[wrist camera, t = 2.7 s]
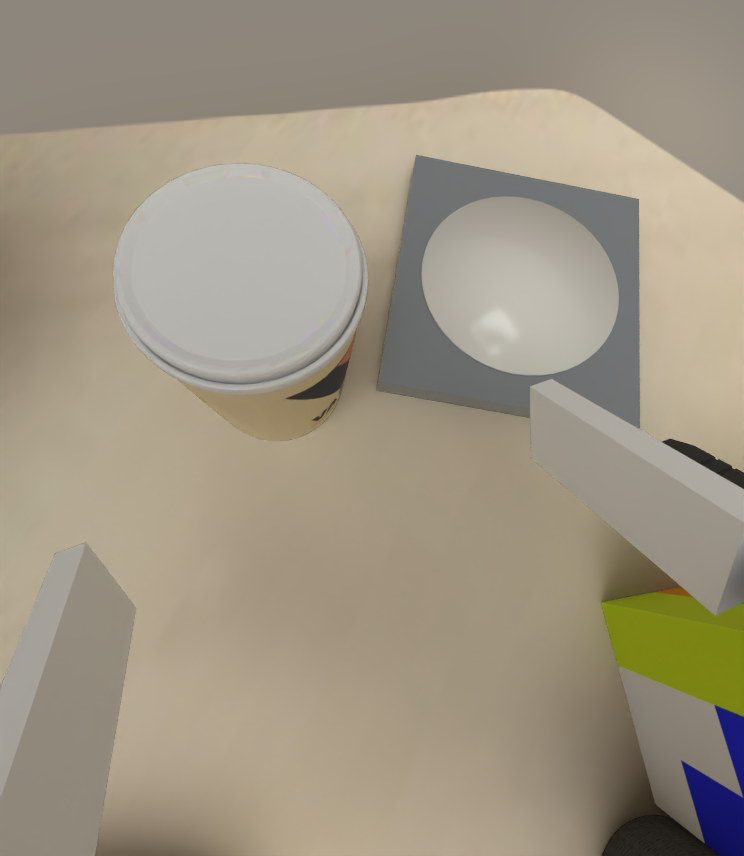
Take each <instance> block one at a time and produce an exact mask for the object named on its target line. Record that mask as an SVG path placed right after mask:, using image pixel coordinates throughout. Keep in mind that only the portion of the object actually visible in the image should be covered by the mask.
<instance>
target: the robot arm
mask: <svg viewBox="0 0 744 856" xmlns="http://www.w3.org/2000/svg"><path fill="white" fill-rule="evenodd" d="M530 435H531V458H532V459H533V460H534V461H535V462H536V463H537V464H539V465H540V466H541V467H542V468H543V469H544V470H546V471H547V472H548V473H549V474H550V475H551V476H553V477H554V478H555V479H556V480H557V481H558V482H560V483H561V484H562V485H563V486H564V487H565V488H567V489H568V490H569V491H570V492H571V493H572V494H574V495H575V496H576V497H577V498H578V499H579V500H581V501H582V502H583V503H584V504H585V505H586V506H588V507H589V508H590V509H591V510H592V511H593V512H595V513H596V514H597V515H598V516H599V517H600V518H602V519H603V520H604V521H605V522H606V523H607V524H609V525H610V526H611V527H612V528H613V529H615V530H616V531H617V532H618V533H619V534H620V535H622V536H623V537H624V538H625V539H626V540H627V541H629V542H630V543H631V544H632V545H633V546H634V547H636V548H637V549H638V550H639V551H640V552H641V553H643V554H644V555H645V556H646V557H647V558H648V559H650V560H651V561H652V562H653V563H654V564H655V565H657V566H658V567H659V568H660V569H661V570H662V571H664V572H665V573H666V574H667V575H668V576H669V577H671V578H672V579H673V580H674V581H675V582H676V583H678V584H679V585H680V586H681V587H682V588H683V589H685V590H686V591H687V592H688V593H689V594H690V595H692V596H693V597H694V598H695V599H696V600H697V601H699V602H700V603H701V604H702V605H703V606H705V607H706V608H707V609H708V610H709V611H710V612H712V613H713V614H714V615H715V616H716V615H718V614H720V613H722V612H724V611H726V610H728V609H730V608H732V607H734V606H736V605H738V604H740V603H743V602H744V473H743V472H742V471H740V470H738V469H733V468H732V466H731V465H729V464H727V463H725V462H723V461H721V460H716V459H715V457H714V456H712V455H710V454H708V453H707V452H705V451H703V450H701V449H699V448H697V447H696V446H693V445H690V444H686V443H683V442H679V441H676V440H673V439H668V440H665V441H663V442H661V441H659V440H657V439H655V438H654V437H652V436H650V435H648V434H647V433H645V432H643V431H641V430H640V429H638V428H636V427H635V426H633V425H631V424H629V423H628V422H626V421H624V420H622V419H621V418H619V417H617V416H615V415H614V414H612V413H610V412H608V411H607V410H605V409H603V408H601V407H600V406H598V405H596V404H594V403H593V402H591V401H589V400H588V399H586V398H584V397H582V396H581V395H579V394H577V393H575V392H574V391H572V390H570V389H568V388H567V387H565V386H563V385H561V384H560V383H558V382H556V381H554V380H553V379H550V380H547V381H544V382H541V383H538V384H536V385H533V386H530ZM135 613H136V607H135V606H134V605H133V603H132V602H131V601H130V599H129V598H128V597H127V595H126V594H125V593H124V591H123V590H122V589H121V587H120V586H119V585H118V583H117V582H116V581H115V580H114V578H113V577H112V576H111V574H110V573H109V572H108V570H107V569H106V568H105V566H104V565H103V564H102V562H101V561H100V560H99V558H98V557H97V556H96V554H95V553H94V552H93V551H92V549H91V548H90V547H89V545H88V544H87V543H83V544H80V545H77V546H74V547H71V548H69V549H66V550H63V551H60V552H57V553H55V555H54V557H53V560H52V562H51V565H50V567H49V570H48V572H47V575H46V577H45V580H44V582H43V584H42V587H41V589H40V592H39V594H38V597H37V599H36V602H35V604H34V606H33V609H32V611H31V614H30V616H29V619H28V621H27V624H26V626H25V629H24V631H23V633H22V636H21V638H20V641H19V643H18V646H17V648H16V651H15V653H14V655H13V658H12V660H11V663H10V665H9V668H8V670H7V673H6V675H5V677H4V680H3V682H2V685H1V687H0V856H95V853H96V847H97V841H98V835H99V829H100V823H101V817H102V811H103V805H104V799H105V793H106V787H107V781H108V775H109V769H110V763H111V757H112V751H113V745H114V739H115V733H116V727H117V721H118V715H119V709H120V703H121V697H122V691H123V685H124V679H125V673H126V667H127V661H128V655H129V649H130V643H131V637H132V631H133V625H134V619H135Z"/></svg>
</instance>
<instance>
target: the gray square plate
mask: <svg viewBox="0 0 744 856" xmlns="http://www.w3.org/2000/svg"><path fill="white" fill-rule="evenodd" d="M550 379H553V380H554V381H556V382H558V383H560V384H561V385H563V386H565V387H567V388H568V389H570V390H572V391H574V392H575V393H577V394H579V395H581V396H582V397H584V398H586V399H588V400H589V401H591V402H593V403H594V404H596V405H598V406H600V407H601V408H603V409H605V410H607V411H608V412H610V413H612V414H614V415H615V416H617V417H619V418H621V419H622V420H624V421H626V422H628V423H629V424H631V425H633V426H635V427H636V428H638V429H639V428H640V378H639V199H636V198H631V197H626V196H621V195H616V194H611V193H606V192H600V191H595V190H590V189H585V188H580V187H575V186H570V185H565V184H560V183H555V182H550V181H545V180H540V179H535V178H530V177H525V176H520V175H514V174H509V173H504V172H499V171H494V170H489V169H484V168H479V167H474V166H469V165H464V164H459V163H454V162H449V161H444V160H439V159H434V158H428V157H423V156H418V155H416V158H415V163H414V168H413V173H412V179H411V185H410V191H409V197H408V203H407V209H406V215H405V221H404V227H403V233H402V239H401V245H400V251H399V257H398V263H397V269H396V276H395V282H394V288H393V294H392V300H391V306H390V312H389V318H388V324H387V330H386V336H385V342H384V348H383V354H382V360H381V366H380V372H379V378H378V384H377V391H383V392H389V393H394V394H400V395H405V396H411V397H417V398H422V399H428V400H434V401H439V402H445V403H450V404H456V405H462V406H467V407H473V408H479V409H484V410H490V411H495V412H501V413H507V414H512V415H518V416H524V417H529V418H530V386H533V385H536V384H538V383H541V382H544V381H547V380H550Z"/></svg>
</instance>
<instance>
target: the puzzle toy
mask: <svg viewBox="0 0 744 856" xmlns="http://www.w3.org/2000/svg"><path fill="white" fill-rule="evenodd" d="M601 605H602V609H603V613H604V616H605V620H606V624H607V628H608V631H609V635H610V639H611V642H612V646H613V650H614V653H615V657H616V661H617V664H618V668H619V672H620V675H621V679H622V683H623V687H624V690H625V694H626V698H627V701H628V705H629V709H630V712H631V716H632V720H633V723H634V727H635V731H636V735H637V738H638V742H639V746H640V749H641V753H642V757H643V760H644V764H645V768H646V771H647V775H648V779H649V782H650V786H651V790H652V794H653V797H654V801H655V805H657V806H658V807H659V808H660V809H662V810H663V811H664V812H665V813H667V814H668V815H669V816H671V817H672V818H673V819H674V820H676V821H677V822H678V823H679V824H681V825H682V826H683V827H684V828H686V829H687V830H688V831H689V832H691V833H692V834H693V835H694V836H696V837H697V838H698V839H699V840H701V841H702V842H703V843H705V844H706V845H707V846H708V847H710V848H711V849H712V850H713V851H715V852H716V853H717V854H718V855H720V856H744V602H743V603H740V604H738V605H736V606H734V607H732V608H730V609H728V610H726V611H724V612H722V613H720V614H718V615H716V616H715V615H714V614H713V613H712V612H710V611H709V610H708V609H707V608H706V607H705V606H703V605H702V604H701V603H700V602H699V601H697V600H696V599H695V598H694V597H693V596H692V595H690V594H689V593H688V592H687V591H686V590H685V589H683V588H682V587H676V588H671V589H666V590H661V591H656V592H651V593H646V594H641V595H635V596H630V597H625V598H620V599H615V600H610V601H605V602H601Z"/></svg>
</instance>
